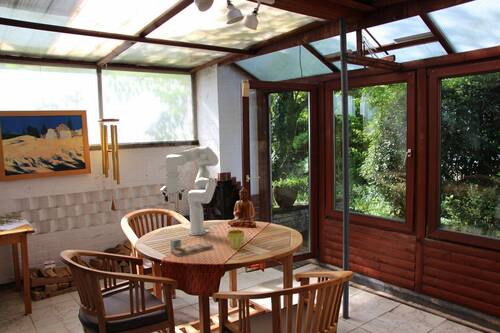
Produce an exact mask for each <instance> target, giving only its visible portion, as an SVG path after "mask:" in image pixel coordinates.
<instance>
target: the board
mask: <svg viewBox="0 0 500 333" xmlns="http://www.w3.org/2000/svg"><path fill="white" fill-rule="evenodd" d="M183 247H184V248H186V250H184V251H182V250H180V249H173V250H171V249H170V254H172V255H174V256H176V257H182V256H186V255H190V254H195V253H200V252H205V251H208V250H213V249H214V245H213V244H210V243H209V242H203V243H202V242H201V243H197V244H193V245H188V246H183Z"/></svg>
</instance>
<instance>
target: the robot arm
mask: <svg viewBox="0 0 500 333" xmlns="http://www.w3.org/2000/svg"><path fill="white" fill-rule="evenodd" d="M194 161H196V165H197V169H198V171H197V172H198V173H197V175H196V178H195V180H194V184H193V186H194V189H191V190H190V191H188V193H187V200H188V206H189V220H190V221H189V222H190V223H189V224H190V230H189V231H188V235H191V236H200V235H205V234H206V233H207V231H206V230H210V226H209V225H208V226H205V224H204V223H205V222H204V208H203V205H202V204H210V202H211V200H212V198H213V196H214V193H215V189H216V185H217V183H216V180H215V179H214V178H213V177H210V171H209V169H208V167H215V166H217V165H218V164H219V157H218V156H217V154H216V153H215V152H214V151H213V149H212V148H210V147H209V146H196V147H193V148H189V149H187V150H183V151H182V150H181V151H178V152H173V153H171V154H168V155H167V156H166V157H165V173H166V174H165V175H166V176H165V177H164V184H163V185H164V186H163V187H162V188H160V192H161V194H162V196H164V201H165V202H166V203H168V202H169V196H168V195H169V193H176V192H177V193H178V194H177V195H178V200H179V201H183V200H182V199H183V193H184V192H185V189H186V186H185V185H183V184H181V180H180V176H179V175H180V174H181V173H180V172H179V167H184V166H186V165H187V163H192V162H194Z"/></svg>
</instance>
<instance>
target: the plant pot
mask: <svg viewBox="0 0 500 333" xmlns="http://www.w3.org/2000/svg"><path fill="white" fill-rule="evenodd" d="M244 237H245V231H244V230H242V229H232V230H229V231H227V238H228V240H229V244H230V248H231V249H240V248H242V246H243V241H244Z"/></svg>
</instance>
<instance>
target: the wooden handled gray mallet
mask: <svg viewBox="0 0 500 333" xmlns="http://www.w3.org/2000/svg"><path fill="white" fill-rule="evenodd" d="M184 247H185V246H182V239H180V238H174V239H170V251H171V250H173V249H180V250H182V251H184V250H186V248H184Z"/></svg>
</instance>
